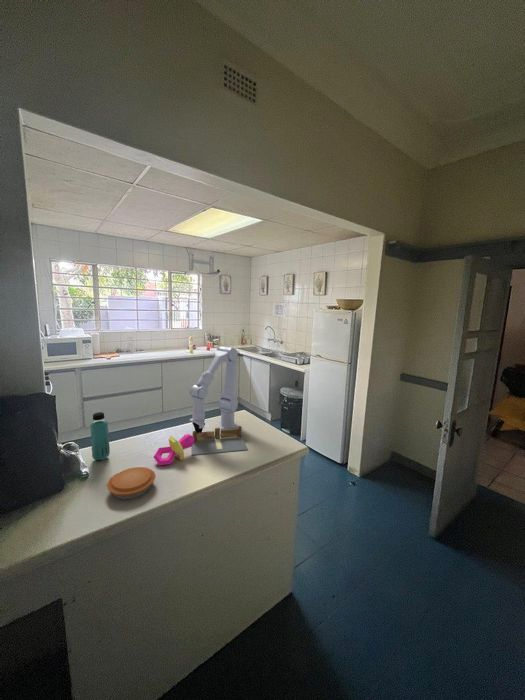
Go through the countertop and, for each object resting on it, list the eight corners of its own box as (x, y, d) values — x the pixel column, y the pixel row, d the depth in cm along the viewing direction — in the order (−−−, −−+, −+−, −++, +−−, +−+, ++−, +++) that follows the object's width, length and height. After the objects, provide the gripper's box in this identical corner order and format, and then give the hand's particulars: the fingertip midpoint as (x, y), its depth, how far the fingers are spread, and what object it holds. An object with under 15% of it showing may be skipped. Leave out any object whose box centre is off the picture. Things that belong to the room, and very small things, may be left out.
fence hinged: (213, 437, 138) (213, 428, 137) (214, 438, 136) (214, 429, 135) (192, 440, 134) (192, 431, 133) (192, 442, 132) (192, 433, 131)
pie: (163, 490, 98) (162, 477, 98) (115, 511, 88) (114, 496, 87) (146, 471, 110) (145, 459, 109) (101, 487, 99) (101, 474, 98)
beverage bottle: (102, 464, 113) (99, 417, 110) (88, 462, 114) (85, 415, 111) (113, 456, 119) (111, 411, 116) (100, 454, 120) (97, 409, 117)
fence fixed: (214, 438, 139) (214, 427, 138) (240, 435, 142) (241, 425, 141) (215, 440, 136) (215, 429, 135) (241, 437, 140) (241, 427, 139)
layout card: (191, 437, 138) (191, 436, 138) (240, 433, 144) (240, 432, 144) (191, 455, 122) (191, 454, 122) (247, 449, 128) (247, 448, 128)
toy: (151, 459, 119) (148, 445, 113) (188, 436, 130) (187, 422, 124) (163, 476, 114) (161, 463, 108) (200, 451, 125) (200, 437, 119)
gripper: (187, 405, 139) (187, 431, 141) (193, 416, 126) (193, 444, 128) (201, 404, 142) (201, 429, 144) (208, 414, 129) (208, 441, 131)
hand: (198, 436), depth 136 cm, fingers closed
